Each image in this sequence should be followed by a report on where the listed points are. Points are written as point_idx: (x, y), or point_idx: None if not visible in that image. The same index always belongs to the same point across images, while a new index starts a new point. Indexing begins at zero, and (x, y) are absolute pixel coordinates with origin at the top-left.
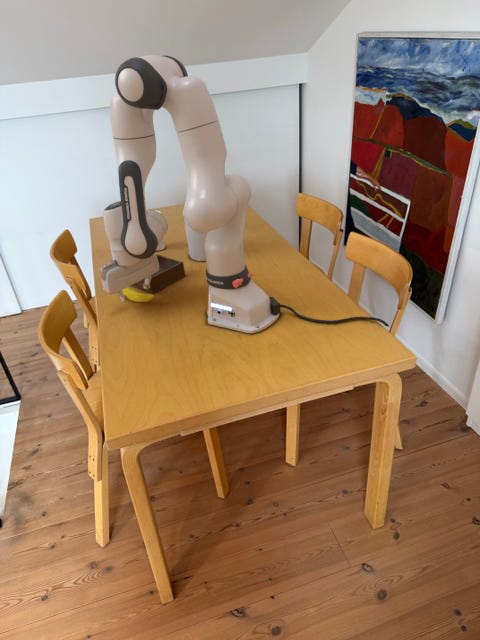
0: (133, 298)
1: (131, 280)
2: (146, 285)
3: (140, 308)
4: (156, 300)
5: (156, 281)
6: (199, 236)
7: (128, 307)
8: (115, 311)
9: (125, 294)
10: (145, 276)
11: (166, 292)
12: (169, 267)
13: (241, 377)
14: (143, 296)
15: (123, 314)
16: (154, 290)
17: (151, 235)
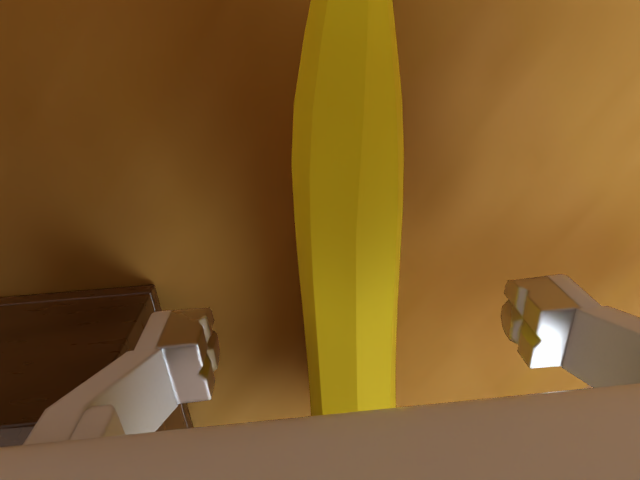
0: (397, 293)
1: (561, 475)
2: (193, 342)
3: (422, 132)
4: (201, 133)
5: (14, 364)
6: None
7: (468, 247)
8: (574, 277)
9: (395, 402)
10: (153, 453)
11: (17, 193)
12: None
13: None
14: (396, 145)
15: (591, 174)
16: (114, 299)
17: None
